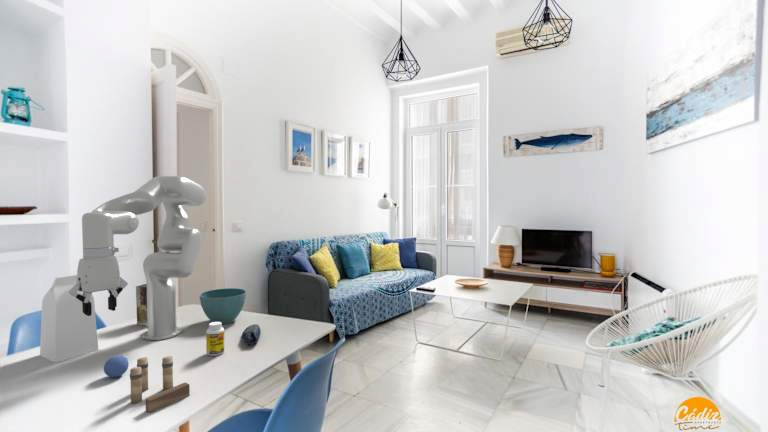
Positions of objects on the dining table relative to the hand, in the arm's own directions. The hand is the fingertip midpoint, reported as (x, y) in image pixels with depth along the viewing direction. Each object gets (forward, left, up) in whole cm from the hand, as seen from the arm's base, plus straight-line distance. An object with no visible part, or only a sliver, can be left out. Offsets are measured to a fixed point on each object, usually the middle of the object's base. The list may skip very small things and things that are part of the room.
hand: (100, 311), depth 117 cm
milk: (-24, 0, -18) cm, 29 cm away
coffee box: (-33, +31, -18) cm, 48 cm away
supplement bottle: (+18, +26, -18) cm, 36 cm away
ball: (+9, 0, -15) cm, 17 cm away
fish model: (+16, +43, -18) cm, 49 cm away
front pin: (+24, 0, -18) cm, 30 cm away
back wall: (+37, 0, -18) cm, 41 cm away
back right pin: (+29, -4, -18) cm, 35 cm away
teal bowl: (-10, +49, -18) cm, 53 cm away
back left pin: (+29, +4, -18) cm, 35 cm away
